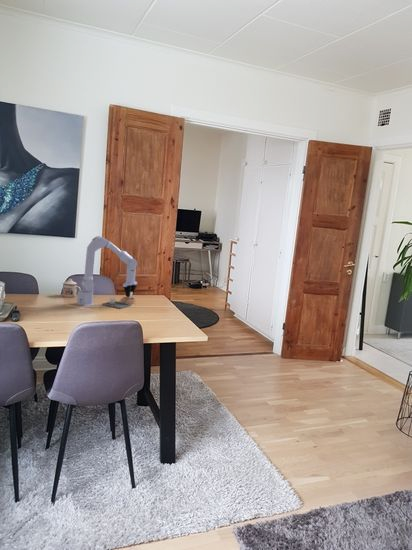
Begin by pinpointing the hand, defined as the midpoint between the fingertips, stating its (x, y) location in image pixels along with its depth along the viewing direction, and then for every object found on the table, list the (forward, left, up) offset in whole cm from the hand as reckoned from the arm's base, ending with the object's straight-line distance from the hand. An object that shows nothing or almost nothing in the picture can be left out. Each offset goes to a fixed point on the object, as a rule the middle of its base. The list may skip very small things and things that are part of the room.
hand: (129, 296), depth 281 cm
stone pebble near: (-12, +5, -5) cm, 14 cm away
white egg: (0, 0, -1) cm, 1 cm away
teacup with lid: (-10, +40, -5) cm, 41 cm away
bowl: (+1, +2, -5) cm, 5 cm away
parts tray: (-12, +2, -5) cm, 13 cm away
